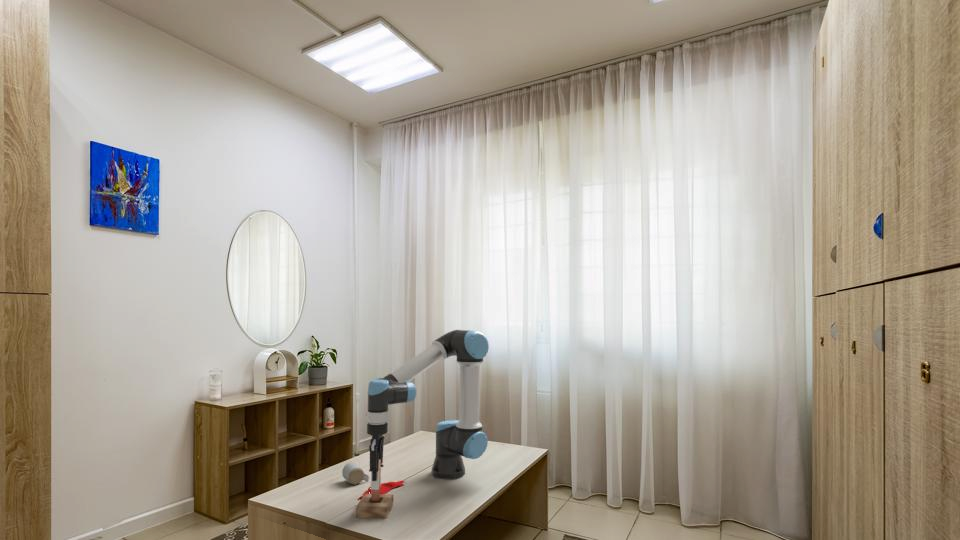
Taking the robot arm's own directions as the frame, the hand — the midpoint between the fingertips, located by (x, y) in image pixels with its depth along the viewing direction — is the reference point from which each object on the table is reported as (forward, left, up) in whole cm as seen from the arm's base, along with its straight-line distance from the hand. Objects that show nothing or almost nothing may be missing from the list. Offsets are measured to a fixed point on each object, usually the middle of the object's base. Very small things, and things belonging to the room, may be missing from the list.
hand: (375, 487), depth 176 cm
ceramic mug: (+15, -29, -9) cm, 34 cm away
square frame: (0, 0, -9) cm, 9 cm away
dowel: (0, 0, -4) cm, 4 cm away
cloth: (+2, -21, -9) cm, 23 cm away
